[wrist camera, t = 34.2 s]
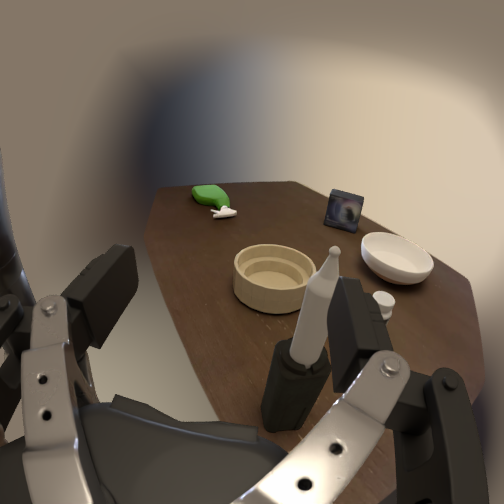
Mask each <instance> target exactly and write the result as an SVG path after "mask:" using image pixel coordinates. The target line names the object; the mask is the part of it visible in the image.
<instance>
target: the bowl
mask: <svg viewBox="0 0 504 504" xmlns="http://www.w3.org/2000/svg"><path fill="white" fill-rule="evenodd" d="M361 251H362V257H363V259H364V261H365V262H366V264H367V265H368V267H369V268H370V269H371V270H372V271H373V272H374V273H375V274H376V275H377V276H379V277H380V278H382V279H383V280H385V281H387V282H390V283H393V284H402V285H411V284H415V283H419V282H421V281H423V280H424V279H425V278H426V277H427V276H428V275H429V274H430V272H431V270H432V269H433V266H434V265H433V260H432V258H431V256H430V255H429V254H428V253H427V252H426V251H425V250H424V249H423V248H422V247H420V246H419V245H417V244H416V243H414V242H412V241H410V240H408V239H406V238H403V237H400V236H397V235H394V234H390V233H383V232H374V233H369V234H367V235H365V236H364V237H363V239H362V245H361Z"/></svg>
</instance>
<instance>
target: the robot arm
mask: <svg viewBox="0 0 504 504" xmlns="http://www.w3.org/2000/svg"><path fill="white" fill-rule="evenodd" d="M138 281H139V280H138V273H137V266H136V260H135V253H134V249H133V247H132V246H125V245H119V244H115V245H113V246H112V247H111V248H110V249H109V250H108V251H107V252H106V253H105V254H102V255H100V256H99V257H97V258H95V259H93V260H92V261H91V262H90V263H89V264H88V265H87V266H86V268H85V269H84V270H83V271H82V272H81V273H80V275H78V276H77V277H76V278H75V279H74V280H73V281H72V282H71V283H70V285H69V286H68V287H67V288H66V289H65V290H64V291H63V292H62V294H61V295H60V296H59V295H49V296H46V297H44V298H42V299H41V300H39V301H38V302H37V303H36V301H35V299H34V296H33V293H32V291H31V288H30V286H29V283H28V280H27V277H26V275H25V272H24V269H23V266H22V263H21V260H20V257H19V254H18V250H17V247H16V244H15V240H14V236H13V231H12V225H11V220H10V215H9V210H8V205H7V199H6V192H5V183H4V172H3V162H2V155H1V149H0V348H1V347H3V349H4V350H5V352H6V353H7V355H8V356H7V358H6V360H5V361H4V363H3V364H2V366H1V367H0V504H332V503H333V502H334V501H335V499H336V498H337V497H338V496H339V495H340V493H341V492H342V491H343V490H344V488H345V487H346V486H347V485H348V483H349V482H350V481H351V479H352V478H353V477H354V475H355V474H356V473H357V471H358V470H359V469H360V467H361V466H362V464H363V463H364V462H365V460H366V459H367V457H368V456H369V454H370V453H371V451H372V450H373V448H374V447H375V445H376V444H377V442H378V440H379V439H380V437H381V436H382V434H383V432H384V430H385V428H388V429H391V430H393V435H394V446H395V460H396V480H397V504H489V496H488V485H487V478H486V471H485V465H484V459H483V453H482V448H481V443H480V439H479V434H478V430H477V426H476V422H475V418H474V414H473V410H472V407H471V403H470V400H469V397H468V393H467V390H466V387H465V384H464V381H463V379H462V378H461V376H460V375H459V374H458V373H457V372H455V371H454V370H452V369H450V368H439V369H437V370H436V371H435V372H434V373H433V375H432V376H428V375H424V374H420V373H417V372H414V371H411V370H410V368H409V365H408V363H407V361H406V360H405V359H404V358H403V357H402V356H401V355H399V354H397V353H395V352H394V351H393V347H392V344H391V341H390V338H389V334H388V331H387V328H386V325H385V323H384V319H383V316H382V315H381V310H380V307H379V304H378V302H377V301H376V300H375V299H374V297H373V296H372V295H371V294H370V293H364V292H363V288H362V285H361V282H360V280H359V279H357V278H349V277H341V276H340V277H339V278H338V280H337V283H336V286H335V289H334V292H333V295H332V299H331V302H330V305H329V308H328V312H327V330H328V338H329V347H330V357H331V367H332V378H333V390H334V393H344V395H343V396H342V397H340V398H339V399H338V400H337V401H336V402H335V404H334V405H333V406H332V407H331V408H330V410H329V411H328V412H327V413H326V414H325V415H324V417H323V418H322V419H321V420H320V421H319V422H318V423H317V424H316V426H315V427H314V428H313V429H312V430H311V431H310V432H309V433H308V434H307V435H306V437H305V438H304V439H303V440H302V441H301V442H300V443H299V444H298V445H297V446H296V447H295V448H294V449H293V450H292V451H291V452H290V453H289V454H288V453H287V452H286V451H285V450H284V449H282V448H281V447H280V446H278V445H276V444H275V443H273V442H271V441H269V440H267V439H265V438H263V437H260V436H257V433H258V427H257V426H249V425H241V424H235V423H228V422H222V421H212V422H181V421H178V420H175V419H173V418H172V417H170V416H168V415H166V414H164V413H162V412H160V411H158V410H157V409H155V408H153V407H151V406H149V405H148V404H145V403H142V402H138V401H135V400H132V399H129V398H126V397H123V396H120V395H117V394H115V397H114V398H113V401H112V403H111V402H106V403H103V402H102V403H100V402H99V400H98V397H97V395H96V391H95V387H94V382H93V378H92V373H91V368H90V363H89V357H88V353H87V351H86V350H87V348H88V347H89V346H92V347H95V348H98V349H101V347H102V345H103V343H104V342H105V340H106V338H107V337H108V335H109V334H110V332H111V330H112V329H113V327H114V326H115V324H116V323H117V321H118V319H119V318H120V316H121V315H122V313H123V312H124V310H125V308H126V307H127V305H128V304H129V302H130V301H131V299H132V298H133V296H134V295H135V293H136V291H137V288H138ZM21 398H22V414H23V424H24V433H25V436H22V437H20V438H18V439H16V440H14V441H12V442H10V443H8V442H7V440H6V439H4V438H5V437H4V432H5V430H6V428H7V426H8V424H9V421H10V420H11V418H12V415H13V413H14V411H15V409H16V407H17V405H18V403H19V401H20V399H21Z"/></svg>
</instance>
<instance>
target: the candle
mask: <svg viewBox="0 0 504 504" xmlns="http://www.w3.org/2000/svg"><path fill="white" fill-rule="evenodd" d="M329 253H330V255H329V256H328V258H327V260H326V261H325V263H324V264H323V266H322V267H321V269H320V270H319V271H318V272H317V273H315V274H314V275H313V276H311V277H310V278H309V280H308V282H307V286H306V291H305V295H304V299H303V303H302V307H301V310H300V314H299V318H298V322H297V326H296V329H295V333H294V337H292V338H290V339H288V340H281V341H279V342H278V343H277V344H276V345H275V349H274V353H273V358H272V362H271V366H270V371H269V375H268V379H267V383H266V387H265V392H264V396H263V400H262V404H261V412H262V418H263V424H264V428H265V429H266V430H267V431H269V432H272V433H275V432H276V431H283V430H291V429H294V430H298V429H300V428H301V427H302V425H303V423H304V421H305V420H306V418H307V416H308V414H309V413H310V411H311V409H312V407H313V405H314V403H315V402H316V400H317V398H318V396H319V394H320V392H321V390H322V388H323V386H324V384H325V382H326V380H327V378H328V376H329V374H330V372H331V365H330V362H329V359H328V355H327V351H326V349H325V347H324V344H325V341H326V338H327V336H328V330H327V312H328V308H329V305H330V302H331V299H332V295H333V292H334V289H335V286H336V283H337V280H338V278H339V266H338V256H339V255H340V253H341V251H340V249H339V247H337V246H333V247H331V248H330V250H329Z"/></svg>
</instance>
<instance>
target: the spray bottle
mask: <svg viewBox="0 0 504 504" xmlns="http://www.w3.org/2000/svg"><path fill="white" fill-rule="evenodd" d="M192 194H193V196H194V198H195V199H196V201H197V202H198V203H200V204H203V205H209V206H216V207H217V208H218V211H216V210H211V211H212V212H214V213H216V214H214V215H213V217H214V218H221V217H229V216H235V215H236V213H237V211H234V210H231V209H230V201H229V198H228V196H227V195H226V193H225V192H224V191H223V190H221V189H220V188H219V187H218V186H216V185H205V186H195V187H194V188H193V189H192Z"/></svg>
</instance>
